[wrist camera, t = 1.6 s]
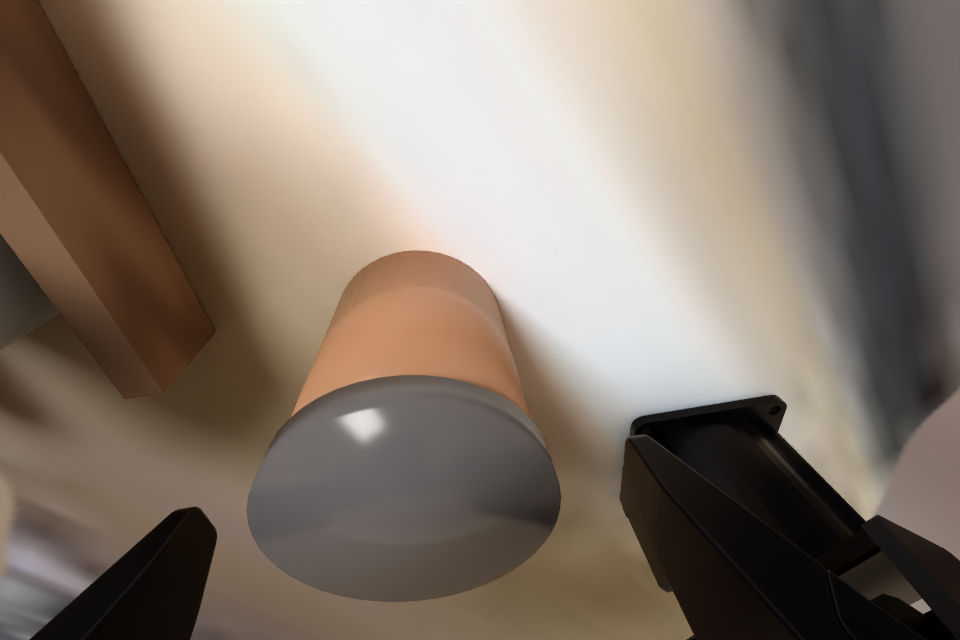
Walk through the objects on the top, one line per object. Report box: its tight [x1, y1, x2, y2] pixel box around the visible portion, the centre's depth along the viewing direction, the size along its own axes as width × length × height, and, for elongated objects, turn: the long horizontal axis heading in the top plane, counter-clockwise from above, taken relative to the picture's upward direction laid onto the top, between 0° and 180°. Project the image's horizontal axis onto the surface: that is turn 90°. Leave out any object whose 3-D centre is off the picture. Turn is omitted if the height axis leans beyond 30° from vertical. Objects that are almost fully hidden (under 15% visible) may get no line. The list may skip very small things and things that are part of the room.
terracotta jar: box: [247, 251, 561, 602], centre depth 11 cm, size 6×6×7 cm
